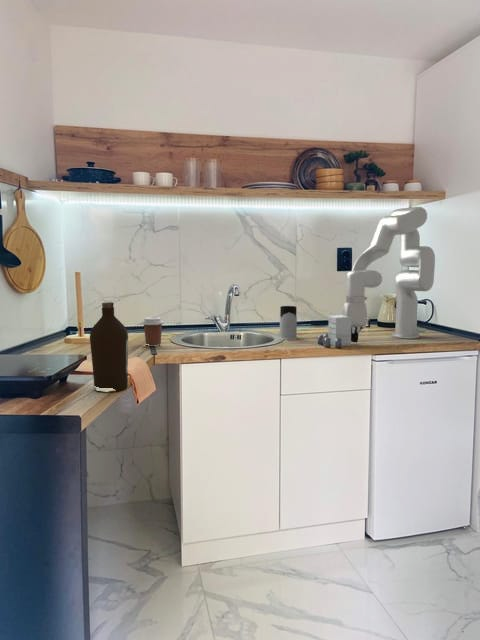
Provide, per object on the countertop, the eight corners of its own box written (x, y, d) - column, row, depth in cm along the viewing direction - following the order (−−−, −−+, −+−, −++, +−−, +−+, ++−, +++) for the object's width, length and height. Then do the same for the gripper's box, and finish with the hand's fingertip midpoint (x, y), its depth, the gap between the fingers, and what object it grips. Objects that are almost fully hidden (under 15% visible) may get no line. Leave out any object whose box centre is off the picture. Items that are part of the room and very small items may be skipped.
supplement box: (342, 342, 207) (343, 314, 205) (351, 345, 200) (351, 316, 198) (327, 343, 205) (328, 315, 203) (335, 346, 198) (336, 317, 196)
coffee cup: (141, 344, 206) (140, 317, 204) (161, 342, 209) (161, 316, 207) (144, 347, 197) (143, 319, 196) (166, 346, 200) (165, 318, 199)
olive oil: (97, 395, 129) (93, 305, 125) (88, 386, 138) (84, 302, 135) (134, 390, 134) (131, 303, 131) (123, 381, 143) (120, 300, 140)
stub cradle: (327, 342, 209) (327, 333, 208) (342, 348, 194) (342, 339, 194) (314, 342, 207) (314, 334, 207) (328, 349, 193) (328, 339, 193)
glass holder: (279, 340, 215) (279, 307, 213) (277, 335, 229) (277, 304, 227) (298, 340, 215) (298, 307, 213) (295, 335, 229) (295, 304, 227)
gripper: (366, 298, 206) (365, 339, 209) (335, 299, 203) (334, 341, 205) (375, 300, 199) (374, 342, 202) (343, 301, 196) (342, 344, 198)
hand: (354, 341), depth 203 cm, fingers closed
